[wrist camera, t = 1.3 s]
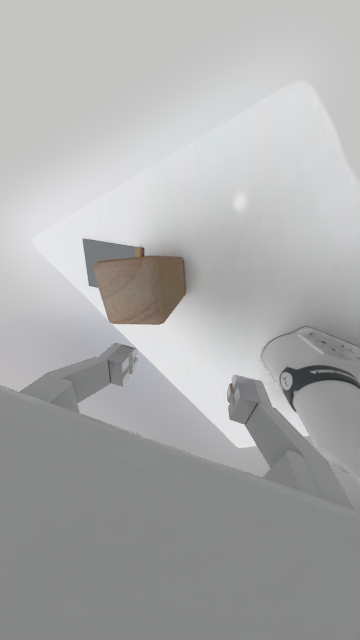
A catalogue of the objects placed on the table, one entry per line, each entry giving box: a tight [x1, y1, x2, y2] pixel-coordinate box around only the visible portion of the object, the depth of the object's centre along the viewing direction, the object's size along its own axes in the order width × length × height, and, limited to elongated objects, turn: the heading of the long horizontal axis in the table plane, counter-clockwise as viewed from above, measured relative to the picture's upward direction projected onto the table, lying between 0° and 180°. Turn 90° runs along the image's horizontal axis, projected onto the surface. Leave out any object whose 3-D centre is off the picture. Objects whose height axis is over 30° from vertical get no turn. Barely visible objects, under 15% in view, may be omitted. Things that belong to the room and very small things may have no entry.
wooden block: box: [93, 256, 185, 325], centre depth 29 cm, size 10×10×20 cm
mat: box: [83, 239, 144, 288], centre depth 39 cm, size 18×13×2 cm
